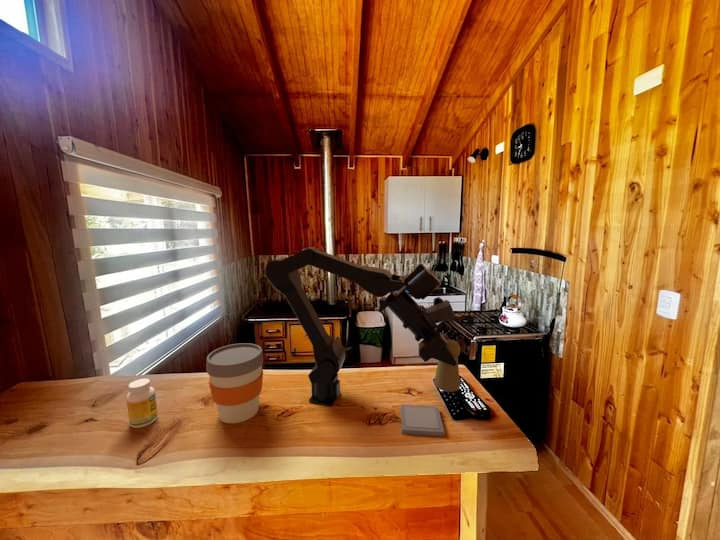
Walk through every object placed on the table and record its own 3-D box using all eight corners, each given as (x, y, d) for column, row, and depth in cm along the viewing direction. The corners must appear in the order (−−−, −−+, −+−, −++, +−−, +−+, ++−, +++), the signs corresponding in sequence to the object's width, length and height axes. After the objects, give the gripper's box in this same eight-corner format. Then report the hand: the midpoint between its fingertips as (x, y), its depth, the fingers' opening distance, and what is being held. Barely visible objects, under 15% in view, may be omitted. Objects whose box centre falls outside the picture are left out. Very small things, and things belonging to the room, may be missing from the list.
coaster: (402, 433, 65) (402, 429, 65) (400, 408, 74) (400, 404, 74) (444, 436, 64) (444, 431, 64) (437, 410, 73) (437, 406, 73)
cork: (461, 393, 69) (464, 348, 67) (434, 389, 70) (436, 345, 68) (458, 379, 74) (461, 337, 73) (433, 376, 76) (435, 335, 74)
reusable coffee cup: (276, 410, 73) (273, 352, 71) (224, 437, 64) (218, 371, 62) (251, 390, 82) (247, 338, 79) (202, 412, 72) (196, 354, 70)
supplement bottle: (133, 417, 71) (127, 379, 69) (159, 411, 73) (155, 374, 71) (127, 431, 66) (121, 391, 64) (156, 424, 68) (151, 385, 67)
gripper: (438, 300, 60) (491, 356, 60) (431, 281, 78) (473, 324, 78) (397, 334, 62) (449, 388, 62) (400, 309, 81) (440, 350, 81)
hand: (454, 359), depth 71 cm, fingers closed on cork, 5 cm apart
